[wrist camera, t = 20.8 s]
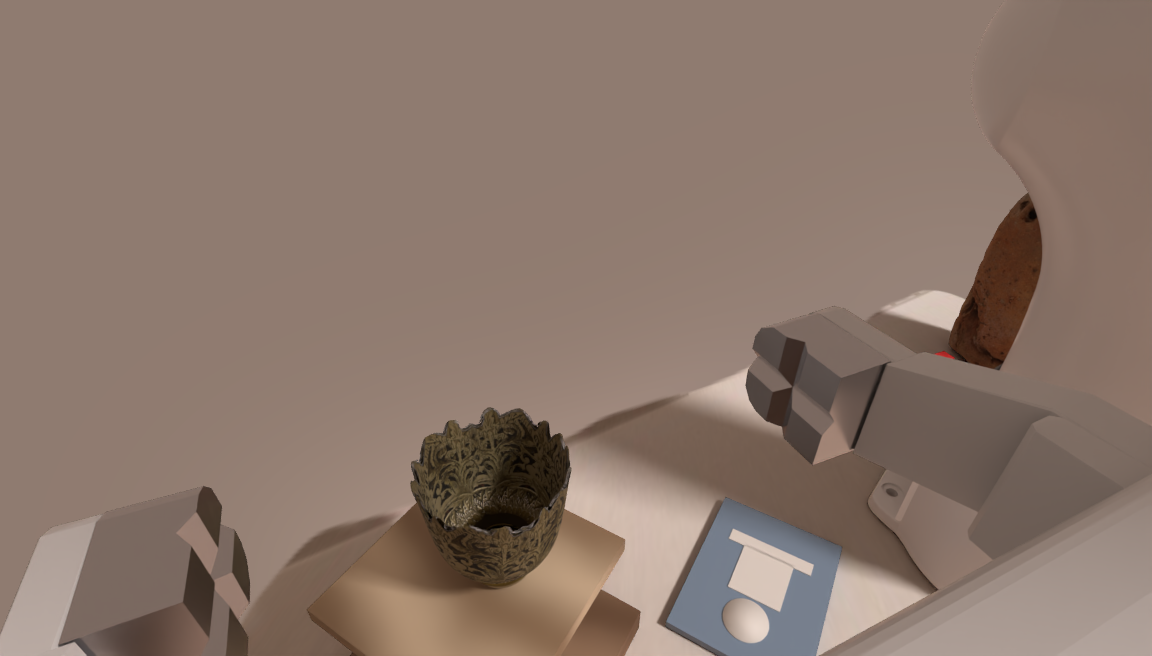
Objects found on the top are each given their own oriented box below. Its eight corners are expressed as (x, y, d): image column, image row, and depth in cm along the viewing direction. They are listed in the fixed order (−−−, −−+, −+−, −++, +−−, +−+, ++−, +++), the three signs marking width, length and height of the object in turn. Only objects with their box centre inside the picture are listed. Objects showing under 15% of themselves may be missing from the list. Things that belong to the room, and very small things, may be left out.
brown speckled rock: (1072, 382, 59) (1187, 199, 48) (1033, 405, 56) (1145, 216, 45) (970, 331, 67) (1048, 163, 56) (930, 349, 64) (1004, 176, 53)
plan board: (724, 501, 46) (725, 496, 46) (840, 551, 43) (842, 546, 42) (665, 626, 38) (666, 620, 38) (803, 703, 34) (805, 697, 34)
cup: (451, 656, 27) (428, 552, 22) (419, 534, 32) (396, 432, 28) (593, 595, 29) (598, 491, 25) (540, 491, 35) (537, 392, 30)
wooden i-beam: (476, 534, 44) (460, 442, 38) (638, 627, 38) (648, 534, 32) (326, 706, 34) (276, 616, 28) (514, 869, 28) (498, 794, 22)
